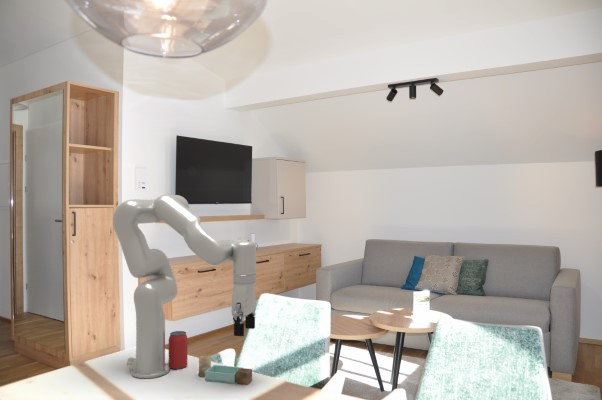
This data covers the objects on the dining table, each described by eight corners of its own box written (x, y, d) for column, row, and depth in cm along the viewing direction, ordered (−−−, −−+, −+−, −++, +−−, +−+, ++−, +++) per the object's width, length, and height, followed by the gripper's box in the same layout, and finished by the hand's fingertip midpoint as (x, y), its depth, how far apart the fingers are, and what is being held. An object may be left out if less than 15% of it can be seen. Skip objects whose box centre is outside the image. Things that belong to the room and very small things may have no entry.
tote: (204, 380, 160) (204, 371, 160) (214, 373, 167) (214, 364, 167) (234, 383, 157) (234, 374, 157) (242, 376, 164) (242, 367, 164)
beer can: (182, 370, 170) (182, 335, 170) (165, 369, 171) (165, 334, 171) (190, 364, 176) (190, 331, 176) (173, 363, 178) (173, 330, 178)
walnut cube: (235, 384, 157) (236, 372, 157) (240, 380, 161) (240, 368, 161) (247, 385, 156) (247, 373, 156) (252, 381, 160) (252, 369, 160)
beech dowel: (196, 376, 164) (196, 358, 164) (202, 372, 168) (202, 354, 168) (207, 377, 163) (207, 359, 163) (212, 373, 167) (212, 355, 167)
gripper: (243, 275, 168) (243, 325, 168) (222, 283, 152) (223, 338, 151) (264, 276, 166) (264, 326, 166) (245, 283, 150) (245, 339, 149)
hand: (244, 332), depth 159 cm, fingers open, 9 cm apart
